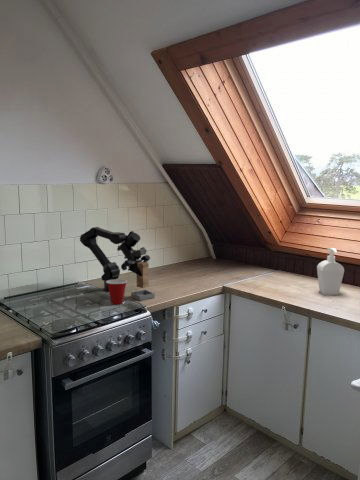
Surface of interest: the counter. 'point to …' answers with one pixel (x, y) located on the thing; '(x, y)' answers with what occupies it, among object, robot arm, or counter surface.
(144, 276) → the walnut block
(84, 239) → the robot arm
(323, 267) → the soap bottle
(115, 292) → the plastic cup
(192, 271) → the counter surface
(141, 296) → the tray
